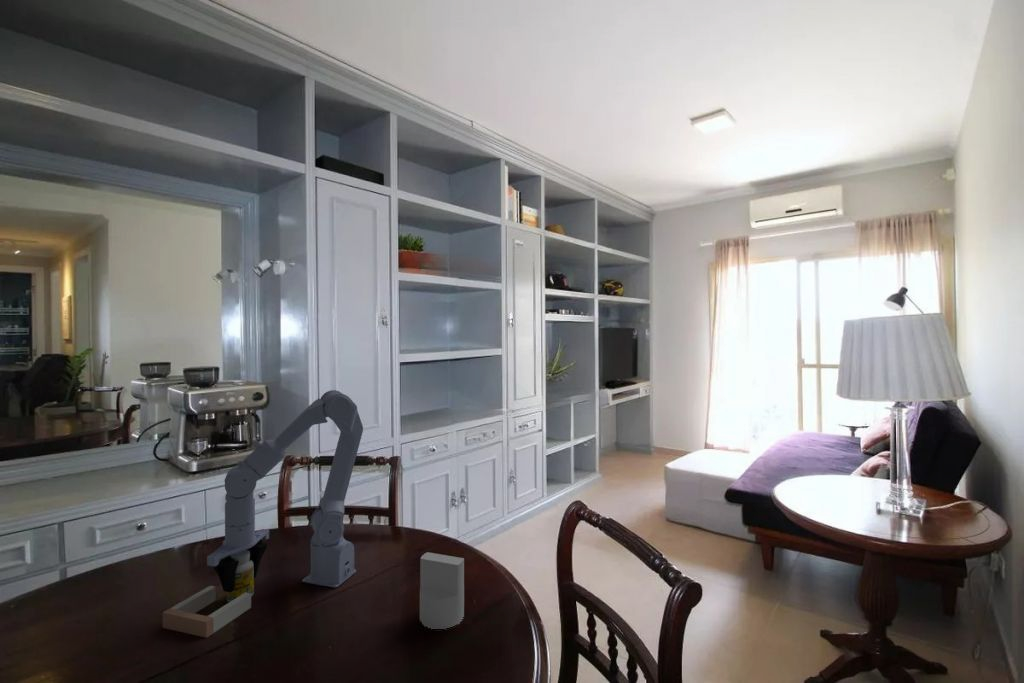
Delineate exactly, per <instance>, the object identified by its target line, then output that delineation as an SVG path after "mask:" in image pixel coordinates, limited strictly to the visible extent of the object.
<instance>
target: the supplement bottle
mask: <svg viewBox="0 0 1024 683" xmlns="http://www.w3.org/2000/svg"><path fill="white" fill-rule="evenodd" d="M231 558H233V560H236V561H239V563H238V566H237V569H236V573H235V585H234V590H233V591H232V592H225V599H226V601H227V603H229V602H231V601H232V600H234V599H236V598H237V597H239V596H240V595H242V594H244V593H245V592H246V593H251V597H252V596H254V593H255V583H254V582H255V578H254V564H253V561H252V560H250V551H248V550H243V551H241V552H238V553H236V554H235V555H233V556H231Z"/></svg>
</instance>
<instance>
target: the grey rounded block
mask: <svg viewBox="0 0 1024 683" xmlns="http://www.w3.org/2000/svg"><path fill="white" fill-rule="evenodd" d="M419 563H420V567H419V568H420V569H419V570H420V571H419V572H420V576H419V577H420V578H419V581H420V582H419V584H420V588H419V622H420V621H421V622H422V624H423V625H424V626H423V625H422V624H421V625H422V626H423V627H425V626H426V627H428V628H427V629H429V628H431V629H430V630H432V629H445V630H447V629H446V628H450V627H453V626H455V625H457V624H458V625H460V624H461V623H462V622H463V620H464V618H465V558H464V557H458V556H452V555H446V554H440V553H435V552H425V553H424V554H422V555H421V557H420V562H419ZM463 617H464V618H463ZM462 619H463V620H462ZM461 621H462V622H461ZM421 622H420V623H421ZM460 622H461V623H460ZM458 625H457V626H458ZM426 627H425V628H426ZM455 627H456V626H455ZM453 628H454V627H453ZM450 629H451V628H450Z"/></svg>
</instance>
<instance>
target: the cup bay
mask: <svg viewBox="0 0 1024 683" xmlns="http://www.w3.org/2000/svg"><path fill="white" fill-rule="evenodd" d="M216 591H217V590H216V586H213V585H209V586H207V587H205V588H204V589H202V590H200V591H199V592H197V593H195V594H193V595H191V596H190V597H188V598H186V599H184V600H183V601H181V602H179V603H177V604H175V605H174V606H172V607H170V608H168V609H166V610H164V611H163V612H162V629H166V630H171V631H176V632H180V633H184V634H188V635H194V636H197V637H201V638H209V637H210V636H211V635H213V634H215V633H216V632H218V631H219V630H221V629H222V628H223V627H225V626H226V625H228V624H229V623H230V622H232V621H233V620H235V619H237V618H238V617H240V616H241V615H242V614H244V613H245V612H247V611H249V609H252V596H251V593H246V592H245V593H244V594H242V595H240V596H239V597H237V598H236V599H234V600H232V601H231V602H227V603H226V604H225V605H223V606H221V607H220V608H218V609H217V610H215V611H213V612H212V613H210V614H209V615H204V614H203V615H202V614H199V613H197V612H200V611H201V610H202V609H204V608H206V607H207V606H209V605H210V604H212V603H214V602H216V601H217V600H216V598H217V597H216V594H217V592H216Z"/></svg>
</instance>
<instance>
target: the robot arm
mask: <svg viewBox="0 0 1024 683" xmlns="http://www.w3.org/2000/svg"><path fill="white" fill-rule="evenodd" d="M327 418H328V419H330V420H332V421H333V423H334V424H335V425H336V427H337V428H338V430H339V431H340V433H339V436H338V441H337V443H336V444H337V445H336V448H335V452H334V455H333V460H332V464H331V467H330V470H329V474H328V478H327V482H326V485H325V489H324V492H323V493H324V494H323V496H322V497H321V499H320V500H319V502H318V505H317V508H316V509H315V510H314V512H313V513H312V514H311V517H310V525H311V528H312V529H313V530H314V533H313V535H312V537H311V538H310V573H309V574H308V575H307V576H305V577H303V579H302V581H301V582H302V583H306V584H312V585H318V586H324V587H330V588H338V587H339V586H340V585H343V583H344V582H346V581H347V580H348V579H349V578H351V576H353V575H354V574H355V573H357V570H356V569H355V546H354V544H353V542H351V541H349V540H346V539H345V538H344V532H345V525H344V516H345V502H346V501H345V500H346V496H347V493H348V489H349V485H350V481H351V478H352V477H351V476H352V473H353V469H354V466H355V462H356V458H357V454H358V452H359V451H358V450H359V447H360V443H361V439H362V436H363V433H364V432H363V431H364V426H363V424H362V423H363V422H362V420H361V417H360V414H359V411H358V406H357V404H356V403H355V402H354V401H353V400H352V399H351V397H349V396H348V395H346V394H344V393H343V392H340V391H339V390H335V389H334V390H333V389H332V390H328V391H326V392H325V393H323V394H322V395H321V397H320V398H317V399H315V400H314V401H313V402H312V403H311V404H309V405H308V407H306V408H305V409H304V410H303V411H302V412H301V413H300V414H299V415H298V416H297V417H296V418H295V419H294V420H293V421H292V422H291V423H290V424H288V425H287V427H286V428H285V429H284V430H283V431H282V432H281V433H280V434H279V435H278V436H277V437H275V438H273V439H267V440H266V439H265V440H264V441H263V442H262V443H261V442H257V444H256V445H255V446H254V448H255V449H254V450H253V451H252V452H251V453H250V454H249V455H247V456H246V457H245V458H244V459H243V460H241V459H240V460H239V461H238V462H237V463H236V465H237V466H234V467H232V468H230V469H229V470H228V472H227V473H226V475H225V478H224V490H225V491H226V492H225V493H226V494H225V503H224V541H222V545H221V546H220V547H219V548H217V549H216V550H215V551H214V552H212V553H211V554H208V555H207V556H206V557H207V558H206V565H207V566H208V567H212V568H213V570H214V571H215V573H216V574H217V576H218V578H219V580H220V584H221V587H222V590H223V592H225V593H226V592H232V591H233V590H234V585H235V573H236V569H237V566H238V563H239V561H236V560H233V558H231V556H233V555H235V554H236V553H238V552H241V551H243V550H248V551H250V560H252V561H253V564H254V579H255V578H256V577H257V574H258V570H259V566H260V563H261V561H262V557H263V555H264V554H265V552H266V550H267V549H268V543H267V542H264V541H266V540H268V539H270V530H269V529H264V528H262V529H260V530H257V531H256V500H255V498H254V490H255V489H256V487H257V482H258V481H260V480H261V479H263V478H264V477H265V476H267V474H269V473H270V472H271V470H273V469H274V468H275V467H276V466H277V465H278V464H279V463H280V462H281V461H282V460H283V459H284V458H285V456H286V454H285V453H286V450H287V448H288V447H290V446H291V445H292V444H293V443H294V442H295V441H297V439H299V438H300V437H301V436H302V435H303V434H305V433H306V432H307V431H309V429H311V428H312V426H315V425H320V424H327V423H328V419H327ZM263 540H264V541H263Z"/></svg>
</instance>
